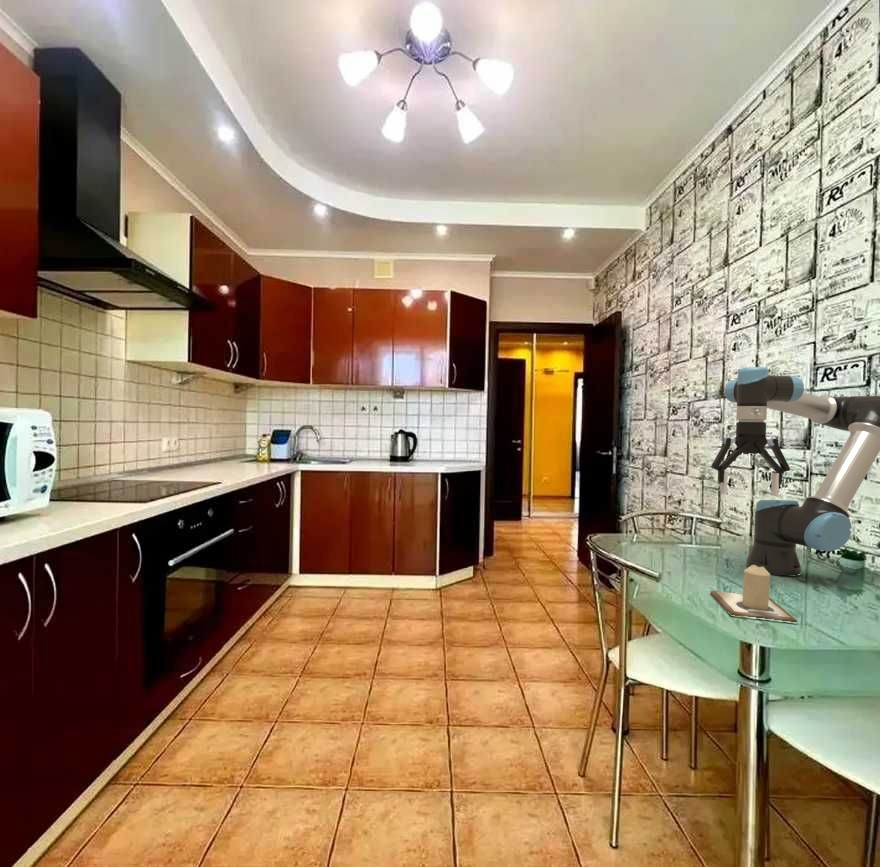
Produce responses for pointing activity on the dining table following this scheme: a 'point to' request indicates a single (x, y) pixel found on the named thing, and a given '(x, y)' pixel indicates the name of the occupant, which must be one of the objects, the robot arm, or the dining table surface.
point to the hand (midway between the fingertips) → (749, 494)
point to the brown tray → (735, 607)
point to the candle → (756, 588)
